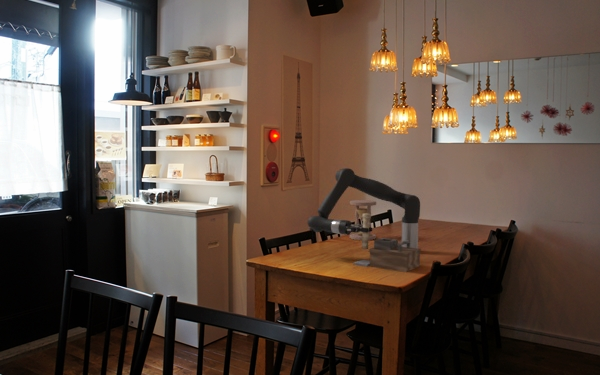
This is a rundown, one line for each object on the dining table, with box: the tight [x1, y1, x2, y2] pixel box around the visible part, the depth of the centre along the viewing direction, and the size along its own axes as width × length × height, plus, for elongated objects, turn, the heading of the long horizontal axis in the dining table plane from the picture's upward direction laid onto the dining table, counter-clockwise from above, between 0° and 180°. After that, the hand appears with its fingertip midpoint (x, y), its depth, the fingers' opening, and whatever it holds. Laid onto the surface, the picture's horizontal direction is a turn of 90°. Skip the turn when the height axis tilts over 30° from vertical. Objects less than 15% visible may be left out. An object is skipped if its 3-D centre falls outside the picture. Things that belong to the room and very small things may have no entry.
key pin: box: [361, 213, 372, 250], centre depth 267 cm, size 4×4×18 cm
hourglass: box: [349, 199, 377, 241], centre depth 347 cm, size 18×18×25 cm
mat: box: [353, 259, 370, 267], centre depth 268 cm, size 10×8×1 cm
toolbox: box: [368, 237, 422, 273], centre depth 262 cm, size 17×21×13 cm
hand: (370, 230), depth 266 cm, fingers closed on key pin, 3 cm apart
